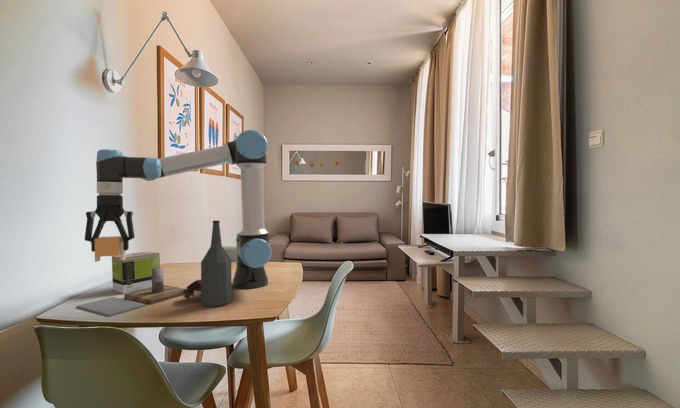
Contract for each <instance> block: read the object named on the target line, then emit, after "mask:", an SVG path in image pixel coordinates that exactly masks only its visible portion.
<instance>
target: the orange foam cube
mask: <svg viewBox="0 0 680 408" xmlns="http://www.w3.org/2000/svg"><path fill="white" fill-rule="evenodd" d="M122 241H123V239H122V237H121V235H118V236H117V235H116V236H99V238H96V239H95V252H94V258H95V257H100V258H101V257H112V256H119V255H121V242H122Z"/></svg>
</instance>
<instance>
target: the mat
mask: <svg viewBox="0 0 680 408" xmlns="http://www.w3.org/2000/svg"><path fill="white" fill-rule="evenodd" d="M146 305H147V303H143V302H138V301H134V300H129V299H125V298H120V297H115V296H111V297H107V298H102V299H99V300H95V301H90V302H86V303H82V304H77V305H76V306H75V307H76V308H77V309H81V310H84V311H88V312H92V313H95V314H99V315H103V316H106V317H113V316H117V315H120V314H124V313H127V312H131V311H134V310H137V309H141V308H143V307H144V308H145V307H146Z"/></svg>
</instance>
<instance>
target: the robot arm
mask: <svg viewBox="0 0 680 408" xmlns="http://www.w3.org/2000/svg"><path fill="white" fill-rule="evenodd" d="M268 147H269V144H268V140H267V138H266V136H265V135H264V134H263V133H262V132H260V131H259V130H256V129H246V130H244V131H242V132H241V133H239V134H238V135H237V137H236V139H234V140H232V141H228V142H225V143H224V144H223V145H219V146H215V147H210V148H204V149H200V150H199V149H198V150H195V151H191V152H185V153H180V154H179V153H178V154H175V155H170V156H165V157H160V158H158V157H150V156H149V157H144V156H141V157H140V156H139V157H138V156H135V157H134V156H124V155H123V151H121V150H116V149H107V148H106V149H105V148H104V149H99V150H98V151H97V152H96V160H95V161H96V162H95V164H96V167H95V168H96V193H97V194H98V195H96V208H95V210H93V211H86V212H85V216H86V223H85V224H86V226H85V233H84V240H85V242H90V243H91V244H90V245H91V252H92V253H93V252H94V253H95V239H96V238H100V237H101V233H102V231H103V229H104V226H105V224H106V222H114V224H115V225H116V227H117V229H118V232H119V234H120V235H119V236H121V237H122V239H123V241H122V242H121V260H125V254H126V251H129V248H130V247H129V246H130V245H129V241H131V240H134V239H135V230H134V222H133V215H134V212H133V211H132V210H131V211H129V210H125V209H124V207H123V206H124V203H123V202H124V199H123V198H124V197H123V195H122V194H123V193H124V191H123V190H124V189H123V186H124V185H123V181H124V179H142V180H144V181H146V182H147V181H148V182H149V181H155V180H156V179H161V178H165V177H170V176H175V175H179V174H185V173H188V172H192V171H193V172H194V171H197V170H198V171H199V170H202V169H207V168H212V167H216V166H221V165H225V164H229V165H231V166H233V165H236V166H237V167H238V168H239V169H240V187H241V189H240V190H241V214H242V215H241V216H242V230H241V231H239V232H238V233H237V234H236V238H235V241H236V268H235V272H234V275H233V276H234V277H232V287H234V288H237V289H255V288H261V287H265V286H267V285H268V284H269V278H268V275H267V272H266V269H265V265H266V264H267V263H269V261H270V260H271V258H272V247H271V245H270V233H269V230H267V229H266V227H265V199H264V197H265V196H264V195H265V193H264V168H265V167H266V166H267V152H268V150H269V149H268ZM96 215H97V217H98V218H99V219H98V221H97V225H96V227H95V230H94V222H95V217H96ZM123 215H124V217H125V221H126V227H127V231H126V229H125V226H124V224H123V221H122V219H121V217H122V216H123ZM93 230H94V232H93ZM99 261H101V257H95V256H94V263H95V262H99Z"/></svg>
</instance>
